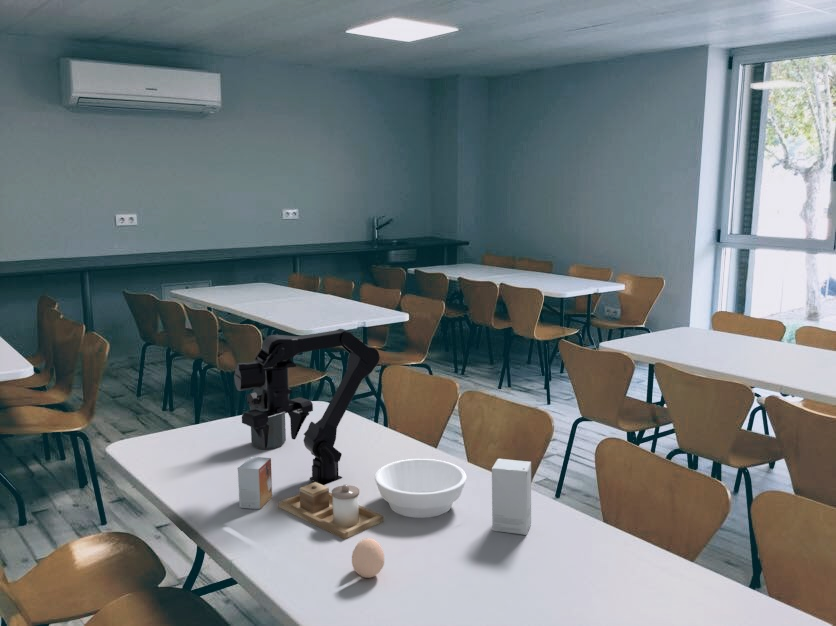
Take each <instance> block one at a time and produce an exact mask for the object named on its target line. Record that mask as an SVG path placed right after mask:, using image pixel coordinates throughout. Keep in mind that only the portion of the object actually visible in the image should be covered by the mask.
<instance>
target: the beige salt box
mask: <svg viewBox="0 0 836 626" xmlns="http://www.w3.org/2000/svg"><path fill="white" fill-rule="evenodd" d="M329 493H330V487H329V486H326V485H322V484H319V483H317V482H314V481H313V482H312V483H309V484H305V485H304V486H302V487H299V494H300V507H301V508H303V509H305V510H307V511H309V512H311V513H315V512H318V511H320V510H323V509H325V508H327V507H329Z"/></svg>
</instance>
